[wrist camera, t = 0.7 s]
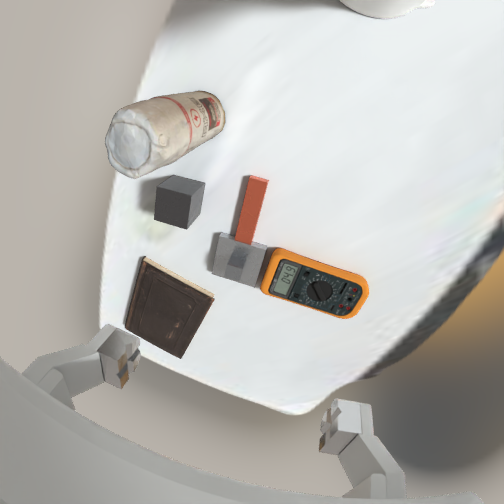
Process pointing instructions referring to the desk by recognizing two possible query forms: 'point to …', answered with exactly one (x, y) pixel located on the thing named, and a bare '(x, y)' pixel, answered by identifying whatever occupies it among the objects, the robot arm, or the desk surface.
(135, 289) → the hardcover book
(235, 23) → the desk surface
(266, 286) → the multimeter
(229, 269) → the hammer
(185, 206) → the brushed metal cube
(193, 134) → the spray can
